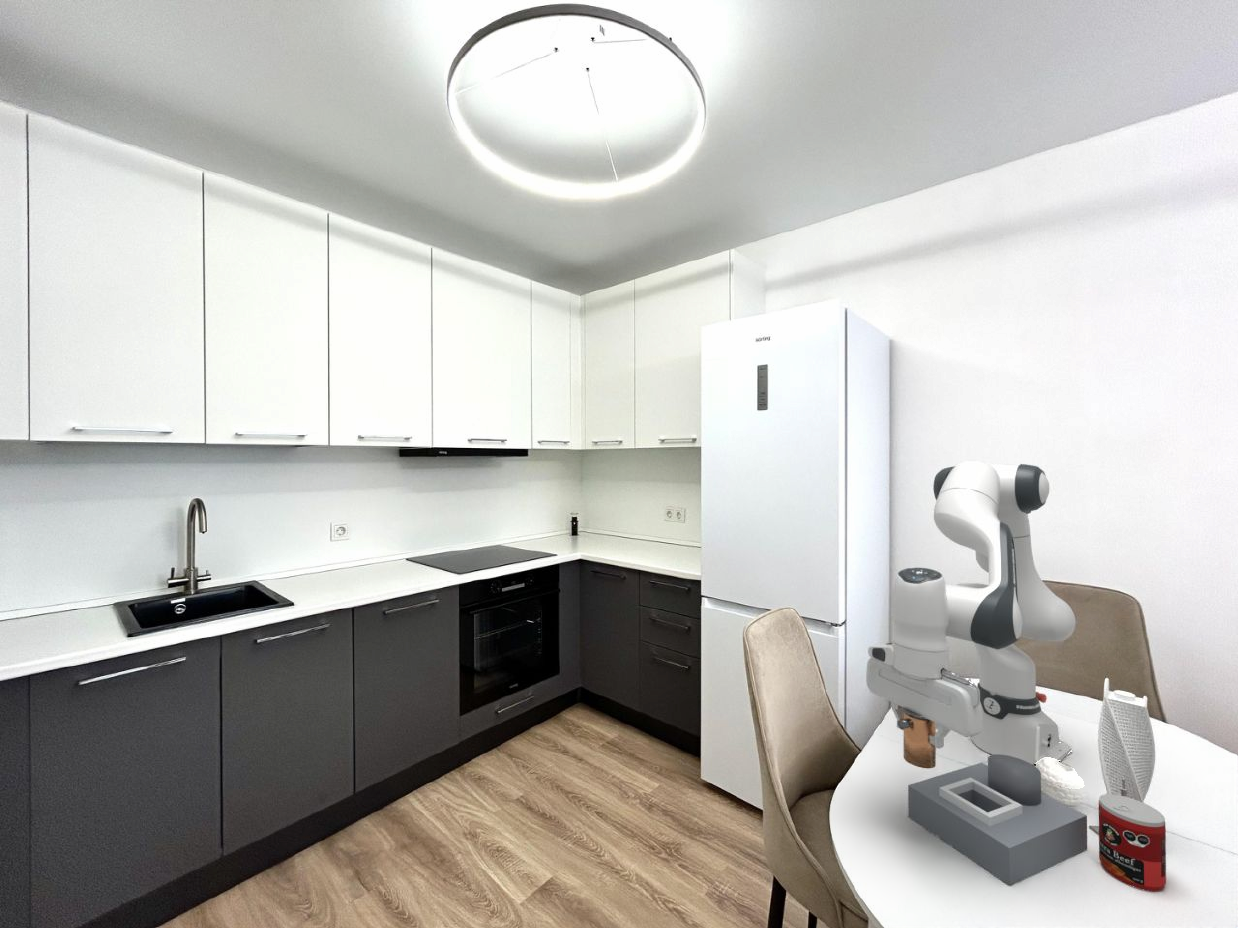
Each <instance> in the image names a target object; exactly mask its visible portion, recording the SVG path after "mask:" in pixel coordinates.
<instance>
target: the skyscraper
mask: <svg viewBox="0 0 1238 928" xmlns="http://www.w3.org/2000/svg"><path fill="white" fill-rule="evenodd" d="M1152 726H1153V725H1152V722H1151V717H1150V714H1149V710H1148V697H1147V695H1144V696H1143V698H1142V697H1138V696H1136V695H1135V694H1134V693H1132V692H1130V691H1129V692H1128V691H1126V690H1125V691H1124V690H1118V689H1117V690H1113V691H1111V690H1110V679H1109V678H1108V677H1106V678H1105V679H1104V685H1103V699H1102V705H1101V711H1100V715H1099V722H1098V730H1097V731H1098V732H1097V735H1098V736H1097V742H1098V743H1097V744H1098V745H1097V746H1098V748H1097V749H1098V756H1099V763H1100V769H1101V774H1102V777H1103V778H1102V779H1103V783H1104V786H1105V789H1106V793H1105V794H1114V795H1121V796H1125V797H1129V798H1132V799H1135V800H1138V801H1140V802H1143V803H1145V802H1144V801H1145V798H1146V796H1147V794H1148V792H1149V789H1150V786H1151V783H1152V780H1153V776H1154V771H1155V765H1156V764H1155V763H1156V742H1155V737H1154V731H1153V727H1152ZM1088 829H1090V830H1091V831H1092V832H1093V833H1095V834H1096V835H1097V836H1099V825H1088Z"/></svg>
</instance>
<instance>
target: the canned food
mask: <svg viewBox="0 0 1238 928" xmlns="http://www.w3.org/2000/svg"><path fill="white" fill-rule="evenodd" d="M1143 802H1144V801H1143ZM1143 802H1140V801H1138V800H1135V799H1132V798H1129V797H1125V796H1121V795H1114V794H1106V793H1104V794H1101V795H1099V798H1098V826H1099V835H1098V853H1099V854H1098V857H1099V862H1100V864H1101V866H1102V867H1103V869H1104V870H1105V871H1106V872H1107V873H1108V874H1109V875H1111V876H1112V877H1113V878H1115V879H1116V880H1118V881H1120V882H1122V883H1124V884H1126V885H1128V886H1130V885H1131V886H1130V887H1133V886H1134V887H1133V888H1136V889H1139V890H1142V889H1144V890H1143V891H1147V890H1149V891H1148V892H1160V891H1162V890H1164V888H1165V886H1166V884H1167V856H1166V854H1167V847H1166V846H1167V844H1166V843H1167V839H1166V838H1167V837H1166V834H1167V833H1166V832H1167V829H1166V819H1165V816H1164V814H1162V812H1160V811H1159V810H1158V809H1156V808H1154V807H1153V806H1151V805H1150V804H1147V803H1145V802H1144V803H1143ZM1159 890H1160V891H1159Z"/></svg>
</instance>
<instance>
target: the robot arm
mask: <svg viewBox="0 0 1238 928" xmlns="http://www.w3.org/2000/svg"><path fill="white" fill-rule="evenodd" d="M932 489H933V494H934V498H935V505H934V508H933V521H934V523H935V525H936V528H937V529H938V530H939V531H940V533H941V534H943V535H944V536H945V537H946V538H948V539H949V540H950V541H951V542H953V543H955V544H958V545H960V546H962V547H965V548H968V549H971V550H973V551H975V559H976V562H977V564H978V566H979V567H980V568H981V569H983V570H984V571H985V572H986V573H988V584H986V583H985V584H984V583H980V582H979V583H974V582H972V583H969V582H967V583H957V584H949V583H946V582H945V581H946V580H945V578H944V575H943V574H942V573H941V572H940V571H938V570H935V569H931V568H926V567H912V568H911V567H908V568H904V569H901V570H900V571H898V572H897V573H896V576H895V580H894V584H893V590H892V591H893V592H892V602H891V603H892V604H891V612H892V613H891V618H892V621H893V627H894V629H893V633H892V637H891V642H886V643H885V642H884V643H883V642H882V643H879V644H874V645H871V646H870V645H869V646H868V648H867V653H868V656H869V657H870V658H869V659H868V660H867V663H866V675H865V677H866V678H865V680H866V682H865V683H866V686H867V689H868V690H869V692H870V693H872V694H874V695H876V696H878V697H879V698H882V699H884V700H887V701H888V702H890V708H891V709H892V712H893V714H894V716H895V718H896V727H897V728H898V729H899V730H901V731H904V729H901V728H899V726H898V724H897V722H898V721H899V720H903V719H904V712H903V707H904V708H906V709H909V710H911V711H913V712H915V713H917V714H919V715H921V716H923V717H924V718H926V719H929V720H931V721H933V722H935V728H936V733H934V734H931V735H929V739H930V741H929V743H930V745H932V746H934V747H936V749H942V748H944V747H945V737H947V735H948V734H949V732H950V731H952V732H954V733H956V734H958V735H961V736H963V737H966V738H969V737H971V742H972V743H973V744H974V745H975V746H976V747H978V748H979V749H980V750H982V751H984V752H986V753H988V754H989V755H995V754H1000V755H1008V756H1012V757H1016V758H1019V759H1022V760H1024V761H1026V762H1028V763H1030V764H1032V765H1034V764H1035V763H1036V762H1037V761H1039V760H1040V759H1042V758H1044V757H1051V758H1055V759H1057V760H1062V761H1063V760H1064V759H1065V758H1066V757H1067V756H1068V753H1069V752H1070V751H1071V750H1072V751H1073V748H1072V746H1070V744H1068V743H1066V742H1065V741H1063V740H1061V739H1060V731H1059V725H1058V724H1057V723H1056V722H1055V721H1054V720H1053V719H1052V718H1051V717H1049V716H1048V715H1047V714H1046V713H1045V712H1044V711H1043V710H1042V707H1041V703H1043V704H1045V703H1046V702H1047V699H1048V697H1047V695H1046V694H1044V693H1041V692H1038V691H1037V690H1036V689H1037V688H1036V684H1037V683H1036V682H1037V678H1036V677H1037V676H1036V675H1037V672H1036V671H1037V669H1036V668H1037V667H1036V665H1035V663H1034V661H1033V659H1032V658H1031V657H1030V656H1029V655H1028V654H1027V653H1026V652H1024V651H1023V650H1021V649H1020V648H1018V646H1016V645H1015V643H1016V642H1018V641H1019V640H1020V637H1021V638H1024V639H1030V640H1033V641H1041V642H1053V643H1054V642H1055V643H1057V642H1058V643H1062V642H1064V641H1065V640H1067V639H1069V638H1070V637H1071V636H1072V635H1073V633H1074V631H1075V628H1076V617H1075V613H1074V612H1073V610H1072V608H1071V606H1070V605H1069V604H1068V603H1067V602H1066V601H1065V600H1063V599H1062V598H1060V597H1059V596H1057V595H1056V594H1055V593H1054V592H1053V591H1051V589H1050V588H1049V587H1048V586H1047V585H1046V584H1045V582H1044V581H1043V580H1042V578H1041V576H1040V575H1039V573H1038V571H1037V569H1036V566H1035V562H1034V561H1035V560H1034V556H1033V551H1032V550H1033V548H1032V541H1031V539H1032V538H1031V537H1032V536H1031V527H1030V526H1031V525H1030V520H1029V514H1031V513H1032V512H1033V511H1034V512H1035V511H1037V510H1039V509H1040V508H1042V507H1043V506H1044V505H1045V504H1046V502H1047V500H1048V497H1049V494H1050V483H1049V480H1048V477H1047V475H1046V473H1045V471H1044V470H1043V469H1042V468H1041V467H1039V466H1037V465H1033V464H1025V463H1020V464H1009V463H1006V464H1005V463H986V462H985V461H984V462H983V461H981V460H966V461H963V462H959V463H957V465H954V466H949V467H945V468H942V469H941V470H940V471H938V472H937V473H936V475H935V476H934V480H933V488H932ZM947 637H950V638H954V639H959V640H963V641H968V642H973V644H974V646H975V647H974V648H975V650H976V653H977V659H978V672H979V674H978V675H979V676H978V677H979V682H977V684H975V683H974V682H973V681H972V679H971V678H969V677H967V676H965V675H961V674H958V673H956V672H954V671H951V670H950V669H949V643H948V641H947ZM1059 742H1061V743H1059ZM1066 755H1067V756H1066ZM1065 756H1066V757H1065ZM1064 757H1065V758H1064ZM1063 758H1064V759H1063ZM1034 766H1035V765H1034Z"/></svg>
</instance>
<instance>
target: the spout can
mask: <svg viewBox="0 0 1238 928" xmlns="http://www.w3.org/2000/svg"><path fill="white" fill-rule="evenodd" d="M903 712H904V719H903V720H899V721H898V722H897V721H896V725H897V724H898V726H899V728H901V729H904V730H903V760H905V762H907V763H908V764H910V765H912V766H914V767H917V768H922V769H934V768H936V762H937V760H936V759H937V757H936V755H937V754H936V753H937V752H936V751H937V748H936V747H934V746H932V745H930V743H929V741H930V739H929V735H931V734H934V733H936V732H937V729H936V728H935V722H933V721H931V720H929V719H926V718H924V717H923V716H921V715H919V714H917V713H915V712H913V711H911V710H909V709H906V708H904V707H903ZM899 728H898V729H899ZM901 729H900V730H901Z"/></svg>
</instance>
